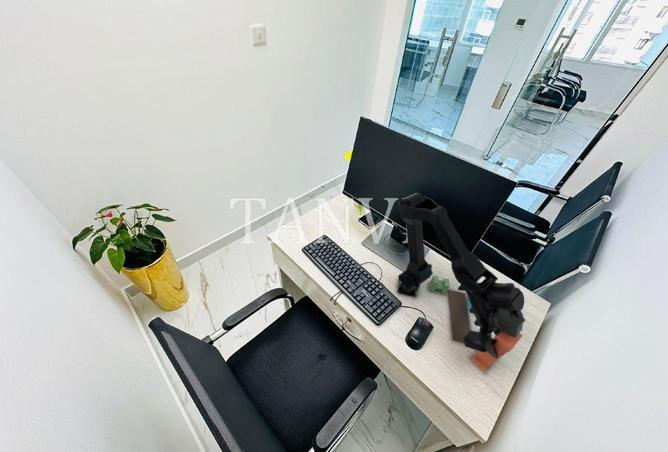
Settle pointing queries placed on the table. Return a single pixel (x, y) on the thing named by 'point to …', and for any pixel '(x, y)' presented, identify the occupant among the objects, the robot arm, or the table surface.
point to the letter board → (458, 315)
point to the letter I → (502, 347)
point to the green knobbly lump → (439, 285)
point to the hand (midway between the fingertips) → (500, 352)
